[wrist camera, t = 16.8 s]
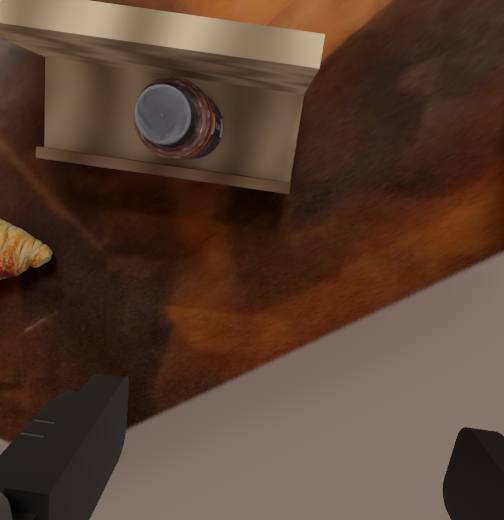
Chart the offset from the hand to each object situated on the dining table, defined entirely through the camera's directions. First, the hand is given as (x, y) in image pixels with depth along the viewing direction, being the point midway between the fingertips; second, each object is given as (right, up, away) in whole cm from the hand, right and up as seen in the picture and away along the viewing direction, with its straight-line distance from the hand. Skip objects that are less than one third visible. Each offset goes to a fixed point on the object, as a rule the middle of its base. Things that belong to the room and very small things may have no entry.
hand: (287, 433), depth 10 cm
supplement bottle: (-6, +17, +29) cm, 34 cm away
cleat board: (-8, +19, +33) cm, 39 cm away
